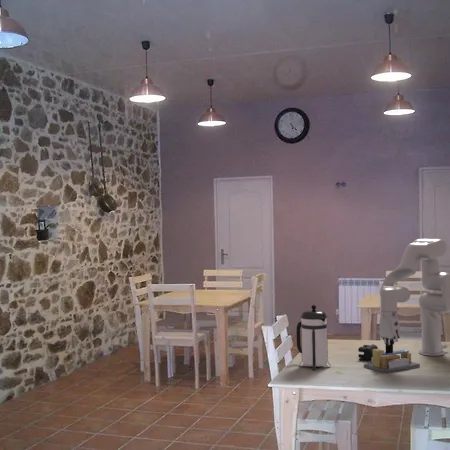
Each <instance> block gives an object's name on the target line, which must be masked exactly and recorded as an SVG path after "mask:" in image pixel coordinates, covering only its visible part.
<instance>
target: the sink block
mask: <svg viewBox="0 0 450 450" xmlns="http://www.w3.org/2000/svg"><path fill="white" fill-rule="evenodd" d="M384 352H385V350H383V349H379V348H378V349H373V357H372V359H371V362H369V363H364V364H363V368H364V369H369V370H372V371H374V372H378V373H381V374H389V373H394V372H400V371H406V370H413V369H416V368H420V367H421V365H420V363H418V362H414V361H412V353H411V352H409V353H402V354H393V355H385V356H383V355H381V353H384Z"/></svg>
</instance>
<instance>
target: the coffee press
mask: <svg viewBox="0 0 450 450" xmlns="http://www.w3.org/2000/svg"><path fill="white" fill-rule="evenodd" d="M300 319H301V320H300V321H299V322H298V323H297V325H296V348H297V350H298V352H299V353H300V354H301V361H300V363H299V367H300V368H302V367H303V366H306V367H312V371H316V369H317V367H323V366H326V368H331V363H330V362H329V361H328V358H329V351H328V350H329V348H328V347H329V345H328V322H327V321H328V320H327V319H328V315H327V313H326V311H324V310H321V309H317V306H316V304H312V305H311V309H307V310H304V311H302V313H301V315H300ZM301 364H303V365H301ZM327 364H328V365H329V366H328V365H327Z"/></svg>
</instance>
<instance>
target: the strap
mask: <svg viewBox="0 0 450 450" xmlns="http://www.w3.org/2000/svg"><path fill="white" fill-rule="evenodd" d="M402 353H410V351H409V350H406V349H401V350H400V349H399V350H393V353H386V351H384V353H381V356H382V355H383V356H385V355H393V354H396V355H401V354H402Z"/></svg>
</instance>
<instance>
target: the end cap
mask: <svg viewBox="0 0 450 450" xmlns="http://www.w3.org/2000/svg"><path fill="white" fill-rule="evenodd" d="M373 349H379V348H378V345H376V344H370V345H369V344H364V345H362V346H359V347H358V358H359V359H358V360H359V361H361V362H363V361H365V362H368V361H370V360H372V357H373ZM359 352H360V353H361V354H360V353H359ZM362 353H363V354H362Z"/></svg>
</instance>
